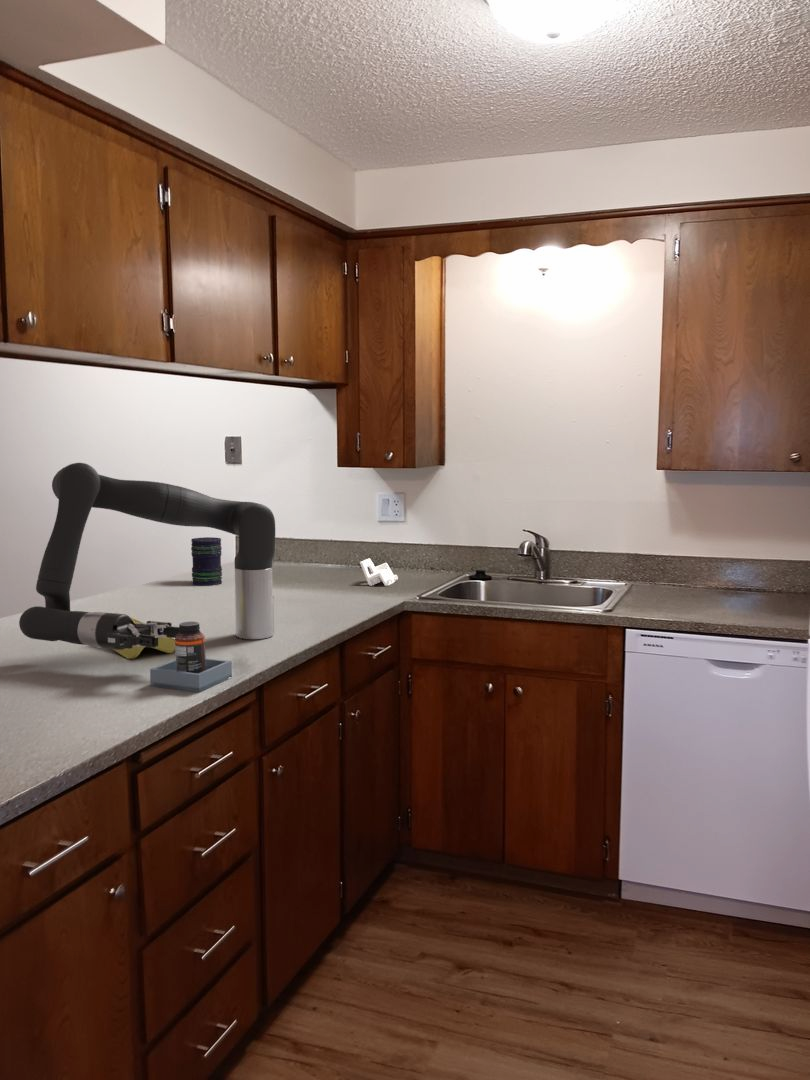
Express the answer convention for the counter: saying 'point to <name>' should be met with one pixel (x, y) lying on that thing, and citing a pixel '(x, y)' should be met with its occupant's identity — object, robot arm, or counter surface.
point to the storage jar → (206, 561)
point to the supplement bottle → (190, 648)
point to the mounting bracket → (378, 573)
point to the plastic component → (163, 645)
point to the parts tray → (190, 676)
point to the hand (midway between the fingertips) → (170, 637)
